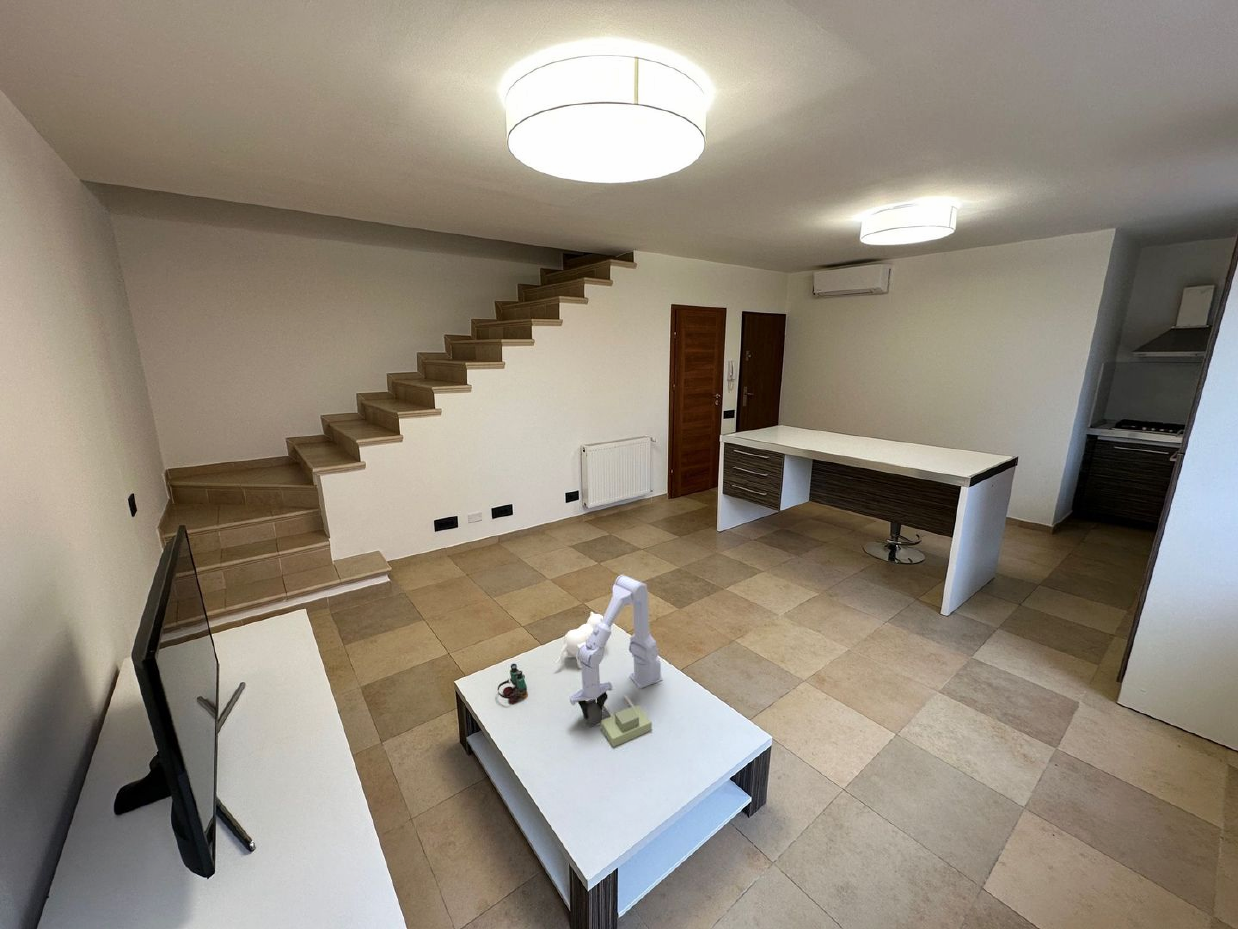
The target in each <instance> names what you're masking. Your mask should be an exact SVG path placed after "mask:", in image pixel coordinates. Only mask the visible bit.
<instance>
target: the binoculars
mask: <svg viewBox="0 0 1238 929" xmlns="http://www.w3.org/2000/svg"><path fill="white" fill-rule="evenodd" d="M509 674H510V676H509V677H510V678H509V679H507V680H505V681H503V682H501V683H500V684H499V685H498V686H497V693H498V695H499V696H500V697H501V698H503V699H507V700H508V702H509V704H515V703H516V702H518V701H519V698H523V699H524V698H527V697H528V695H529V693H528V686H527V682H526V680H525V679H526V677H525V674H523V670H519V669H518V666H517V664H516V663H512V664H511V665H510V670H509ZM506 684H512V685H513V686H506V687H504V688H503V690H502V693H503V694H502V693H500V692H499V690H500V688H501V686H503V685H506ZM514 691H516V693H514Z"/></svg>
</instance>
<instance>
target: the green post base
mask: <svg viewBox="0 0 1238 929" xmlns="http://www.w3.org/2000/svg"><path fill="white" fill-rule="evenodd" d="M622 698H623V701H624V702H625V704H626V705H627V706H628V708H624V709H623V710H620V711H618V712H616V713H615V712H614V713H613V712H612V711H611V709H610V707H609V706H608V704H607V703H606V702H605V703H604V706H603V710H604V712H605V713H606V714H607V716H608V717H606V718H603V720H602V721H601V723H600V729H601V731H602V732H603V734H604V735H605V737H606V738H607V740H608V742H609V743H610V745H611V746H612V748H615V747H617V746H619V745H621V744H624V743H625V742H628V741H631V740H633V739H634V738H637V737H639V736H641V735H643V734H646V733H648V732H650V731H652V729H653V728H652V726H653V724H652V720H650V718H649V717H648V716H647V714H646V713H645V712H644V711H643V710H642V707H640V705H635V704H634V703H633V702H632V701H631V699H630V698H629V697H628V696H627V695H626V694H625V695H623V697H622Z"/></svg>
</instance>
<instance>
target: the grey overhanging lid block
mask: <svg viewBox="0 0 1238 929" xmlns="http://www.w3.org/2000/svg"><path fill="white" fill-rule="evenodd" d="M586 703H587V704H588V710H587V713H588V719H585V720H586V722H587V724H588V726H589V727H590V728H592V727H595V726H597V725H599V724H600V725H601V721H602V720H604V714H603V713H604V712H603V709H602V710H601V709H600V707H599V706H598V704H597V699H592V700H586Z"/></svg>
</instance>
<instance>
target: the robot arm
mask: <svg viewBox="0 0 1238 929" xmlns="http://www.w3.org/2000/svg"><path fill="white" fill-rule="evenodd" d="M631 605H632V606H633V609H632V610H633V612H632V613H633V625H634V626H633V628H634V629H633V630H634V633H633V634H632V635H631V636H630V637H629V639H630V641H629V644H628V652H629V653H631V655H632V656H631V657H632V658H633V673H630V674H629V678H631V679H632V681H633V682H634V684H636V686H637V687H638V688H639V689H643V688H646V687H648V686H651V685H653V684H655V683H658V682H661V681H662V680H663V679H662V675H661V669H662V668H661V660H660V657H659V648H658V646H657V642H656V640H655V638H654V637H652V635H651V633H650V610H649V608H650V606H649V591H648V585H647V584H646V583H644V582H641V581H639V580H637V579H634V578H632V577H630V576H628V575H626V574H620V575H619V576H617V578H616V579H615V581H614V584H613V586H612V597H611V599H610V602H609V603H608V605H607V608H606V610H605V612H604V615H603V619H602V622H600V623H598V624H596V626H595V627H594V629H593V631H592V633H591V635H590V637H589V639H588V641H587V643H586V644H584V645H582V646H581V647H580V649H579V651H578V655H577V659H578V660H579V661H580V665H581V668H580V669H581V684H582V686H581V687H582V688H581V689H580V690H578V692H576V693H574V694H573V695H571V696H569V702H570V704H571V706H575V705H576V703H578V705H579V707H580V709H581V711H582V716H583V718H584V719H585V720H586V719H588V713H587V710H588V704H587V703H586V701H588V700H592V699H596V703H597V704H598V706H599V707H600V709H601V710H602V711H603V710H604V708H603V706H604V703H606V701H607V700H608V699H609V698H608V694H607V692H608V691H609V692H611V691H613V684H612V683H611V681H608V682H603V683H602V682H601V679H600V664H601V663H602V661H603V658H604V650H605V649H604V648H605V646H606V645H607V643H608V641H609V639H610V637H611V636H612V629H611V628H612V625H613V624H614V622H615V621H616V619H617V618H618V616H619V614H620V613H621V611H622V609H623V608H624V607H626V606H631ZM577 659H576V660H577Z"/></svg>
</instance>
